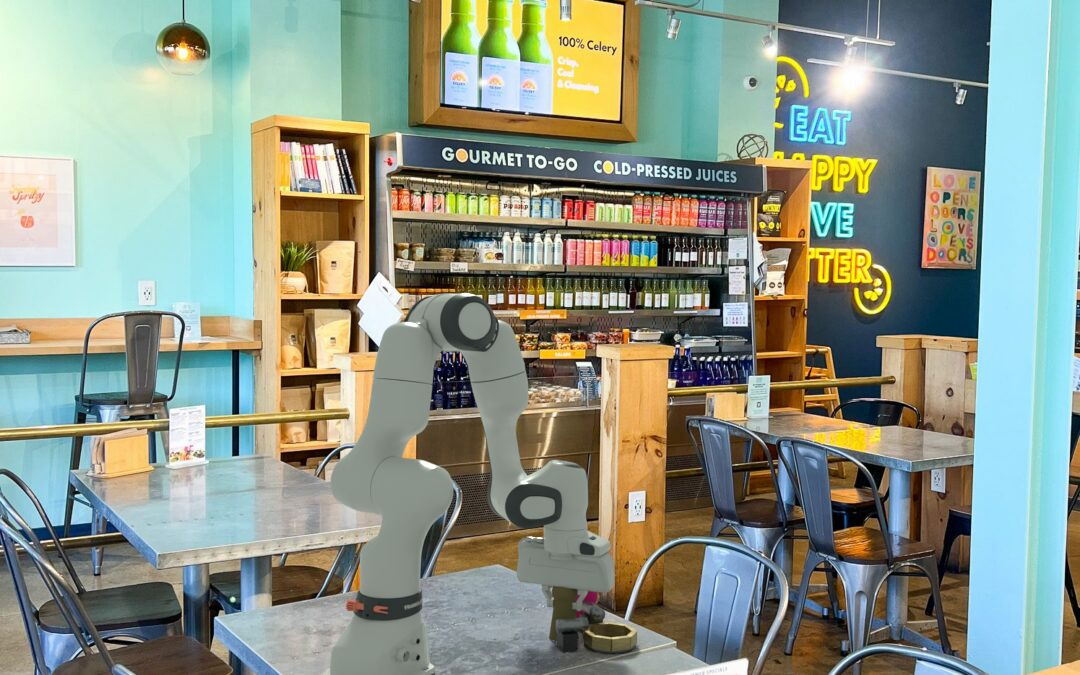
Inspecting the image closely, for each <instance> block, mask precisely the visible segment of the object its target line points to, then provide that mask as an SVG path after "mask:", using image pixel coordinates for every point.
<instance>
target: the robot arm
mask: <svg viewBox="0 0 1080 675" xmlns="http://www.w3.org/2000/svg"><path fill="white" fill-rule="evenodd" d="M442 351H443V352H448V353H451V352H460V354H461V355H462V356H463V358H464V360H465V362H466V364H467V368H468V374H469V375H468V376H469V379H470V380H469V381H470V385H471V390H472V393H473V397H474V400H475V404H476V407H477V409H478V410H477V411H478V413H479V415H480V419H481V422H482V425H483V430H484V436H485V442H486V443H485V444H486V448H487V455H488V461H489V470H490V472H489V473H490V474H489V481H488V485H487V490H486V499H487V503H488V506H489V508H490V509H491V511H492V512H493V513H494V514H495V515H497V517H500V518H502V519H504V520H505V521H507V522H509V523H510V524H512V525H513V526H514V527H517V528H520V529H524V530H525V529H526V530H527V529H534V528H540V527H543V537H533V536H524V537H523V538H521V539H520V540H519V541H518V542H517V543H518V544H517V553H518V560H517V566H516V567H517V568H516V577H517V580H518V581H519V583H525V584H526V583H527V584H534V585H541V591H542V594H543V595H544V597H545V599H546V607H547V608H551V609H553V607H554V598H553V596H552V588H553V586H555V587H565V588H570V589H578V595H580V597H579V598H578V600H575V601H574V602H572V606H573V607H572V610H573V611H581V610H582V601H583V600H584V598H585V597H586V595H587V593H588V591H593V592H597V593H602V594H607V593H609V592H610V591H611V590H612V589H613V588H614V586H615V567H614V561H613V558H612V556H611V554H610V553H609V551H610V549H611V542H610V540H608V539H606V538H604V537H602V536H599V535H598V534H596V533H593V532H591V531H589V530H588V525H589V524H588V522H587V509H588V508H589V490H588V488H589V487H588V477H587V472H586V470H585V469H584V467H582V466H581V465H580V464H578V463H575V462H572V461H568V460H563V459H562V460H561V459H552V460H549V461H548V462H547V463H546V464H545V465H544V466H542V467H541V468H540V469H538V470H536V471H534V472H533V473H531V474H529V475H528V474H527V473H526V472H525V470H524V469H523V467H522V464H521V456H520V451H519V445H518V439H517V430H516V428H517V422H518V419H519V418H520V416H521V415H522V414H523V413H524V411H525V410H526V408H527V407H528V404H529V382H528V381H529V380H528V376H527V371H526V366H525V361H524V357H523V354H522V351H521V348H520V346H519V342H518V340H517V337H516V335H515V332H514V329H513V328H512V327H511V325H510V324H509V323H507V322H505V321H503V320H500V319H498V318H497V317H496V316H495V314H494V311H493V309H492V308H491V306H490V304H489V303H488V302H487V301H486V299H483V298H482V297H481V296H478V295H476V294H473V293H468V292H463V293H452V292H451V293H450V292H449V293H448V292H444V293H439V294H436V295H429V296H424V297H423V298H420V299H419V300H417V301H416V302H414V303H413V305H412V306H411V307H410V309H409V310H408V312H407V314H406V316H405V318H404V319H403V321H401V322H396V323H394V324H391V325H390V326H388V327H387V328H386V329H385V331H384V332H383V334H382V337H381V340H380V343H379V346H378V350H377V353H376V358H375V364H374V368H373V375H372V378H373V379H372V384H371V391H370V400H369V406H368V411H367V417H366V420H365V424H364V427H363V430H362V432H361V434H360V436H359V438H358V440H357V442H355V445H354V446H353V448H352V449H351V450H350V451H349V452H348V453H347V454H346V455H345V456H342V458H340V459H339V460H338V461H337V463H336V464H335V466H334V467H333V470H332V472H331V476H330V489H331V493H332V496H333V497H334V498H335V501H337V502H338V503H340V504H341V505H344V506H345V507H348V508H350V509H353V510H355V511H356V512H361V513H367V514H371V515H372V514H374V515H378V516H381V524H380V528H379V531H378V534H377V535H376V536H374V537H373V538H370V540H368V541H367V542H366V543H364V545H363V546H362V548H361V550H360V555H359V589H358V590H357V594H356V597H355V600H354V599H348V600H346V603H345V609H346V611H347V612H353V613H354V614H353V616H352V618H351V620H350V621H349V622H348V624H347V625H346V626H345V628H344V630H343V631H342V633H341V635H340V636H339V638H337V640H336V642H335V644H334V645H333V646H332V650H331V654H330V667H328V668H327V669H325V671H323V672H322V673H321V674H320V675H434V674H435V673H436V668H435V665H434V664H432V663H431V661H430V647H429V635H428V634H429V633H428V627H427V624H426V622H425V620H424V618H423V616H422V613H421V611H422V609H423V603H424V602H423V601H424V596H423V590H422V588H421V567H422V566H421V564H422V563H421V562H422V552H423V547H424V542H425V539H426V536H427V535H428V532H429V530H430V529H431V527H432V525H433V524H434V523H435V522H436V521H437V520H438V519H440V518H441V517H442V516H444V515H445V514H446V512H447V511H448V509H449V508H450V506H451V503H452V501H453V497H454V483H453V480H452V477H451V475H450V472H448V471H447V469H445V468H444V467H441V466H439V465H437V464H434V463H432V462H429V461H427V460H424V459H417V458H410V457H409V458H408V457H403V456H404V453H405V449H406V448H407V446H408V444H409V442H410V440H411V439H412V438H414V436H417V435H420V433H422V432H423V431H424V430H425V429H426V427H427V425H428V423H429V419H430V418H429V417H430V408H431V400H432V392H433V391H432V390H433V381H434V380H433V379H434V368H435V365H436V362H437V358H439V355H440V354H441V352H442Z"/></svg>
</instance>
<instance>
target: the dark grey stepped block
mask: <svg viewBox="0 0 1080 675" xmlns="http://www.w3.org/2000/svg"><path fill="white" fill-rule="evenodd" d="M588 629H589V622H588V619H587V618H586V617H585V618H573V619H560V620H556V631H557V642H556V648H558V649H559V651H560V652H561V653H563V654H565V653H566V652H569V653H578V645H579V644H578V643H579V639H578V635H579V633H582V631H588ZM576 632H578V634H577V633H576ZM566 654H567V653H566Z"/></svg>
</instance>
